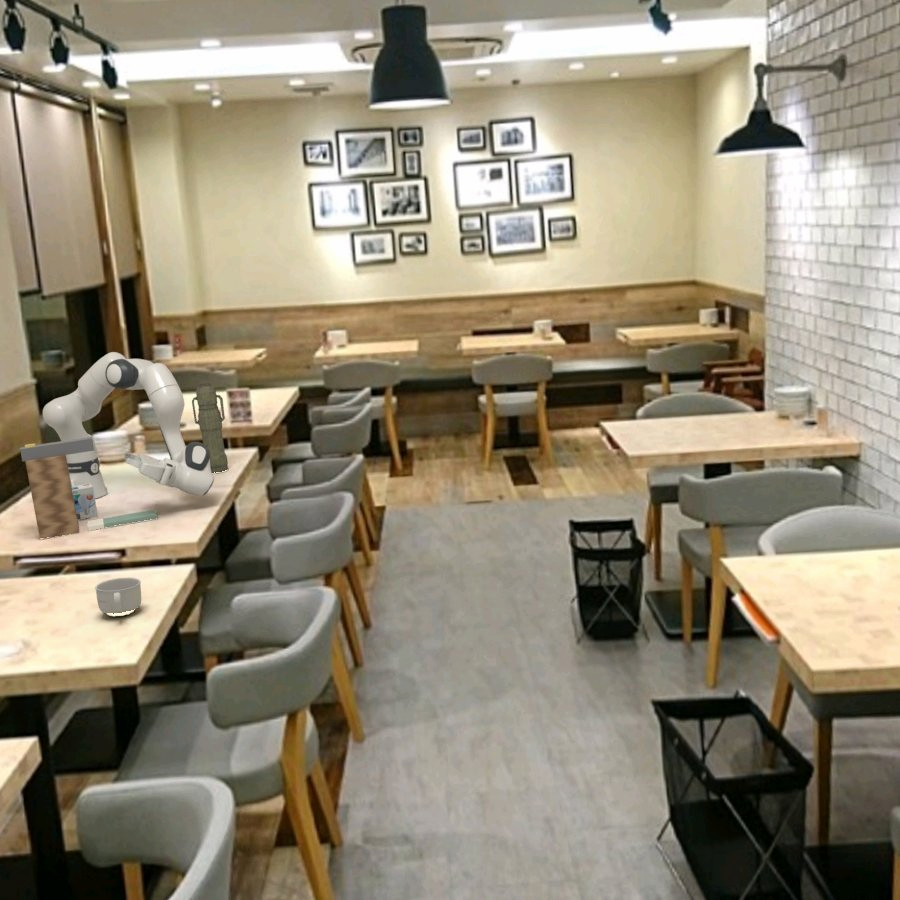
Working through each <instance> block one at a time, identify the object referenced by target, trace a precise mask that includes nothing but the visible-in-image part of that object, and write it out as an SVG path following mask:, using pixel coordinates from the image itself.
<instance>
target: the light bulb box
mask: <svg viewBox="0 0 900 900" xmlns="http://www.w3.org/2000/svg"><path fill="white" fill-rule="evenodd" d="M72 492H73V498H74V503H75V509H76V515H77V520H78V521H81V520H86V519H85V518H87V519H91V518H90V517H92V518H97V517H98V510H97V504H96V498H95V496H94V490H93V486H92V485H91V484H85V485H79V486H74V487H72ZM96 516H97V517H96ZM80 519H81V520H80Z"/></svg>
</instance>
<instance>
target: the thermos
mask: <svg viewBox="0 0 900 900" xmlns="http://www.w3.org/2000/svg"><path fill="white" fill-rule="evenodd" d="M195 395H196V396H194V397H193V398H192V400H191V404H192V411H193V413H192V414H193V417H194V418H193V419H194V423H195V424H198V427H199V430H200V433H201V438H202V444H204V445H205V446H206V447H207V448H208V449H209V451H210V468H211V472H212V473H214V472H215V473H216V472H222V471H225V470H227V469H228V470H229V467H228V464H229V463H228V461H229V460H228V456H227V454H226V451H225V445H224V438H223V437H224V436H223V431H222V429H223V422H224V420H225V419H226V416H225V408H224V400H223V397H222V396H221V395H220V394H217V393H216V389H215V386H214V385H213V384H212V383H201V384H199V385H197V386H196V391H195ZM218 399H219V402H220V410H219V406H218ZM195 401H197V406H198V415H197V414H196V406H195ZM220 411H221V412H220ZM197 418H198V420H197ZM222 473H223V472H222ZM216 474H217V473H216Z"/></svg>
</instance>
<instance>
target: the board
mask: <svg viewBox="0 0 900 900" xmlns="http://www.w3.org/2000/svg"><path fill="white" fill-rule="evenodd" d="M156 518H157V519H158V515H157V512H156V509H150V510H149V509H148V510H144V511H137V512H132V513H128V514H127V513H126V514H125V513H124V514H120V515H115V516H110V517H103V518H97V519H92V520H87V521H86V522H87V523H86V524H87V529H88V532H91V531H90V530H93V531H96V530H95V529H99V530H101V529H100V528H104V529H106V528H105V527H110V526H114V525H119V524H127V523H132V522H138V521H144V520H150V519H155V520H157V519H156ZM150 521H151V520H150ZM144 522H145V521H144ZM138 523H139V522H138ZM127 525H128V524H127ZM110 528H111V527H110Z"/></svg>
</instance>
